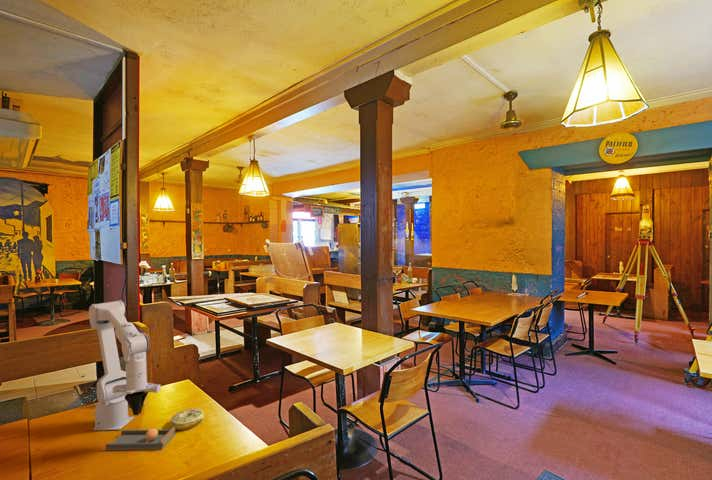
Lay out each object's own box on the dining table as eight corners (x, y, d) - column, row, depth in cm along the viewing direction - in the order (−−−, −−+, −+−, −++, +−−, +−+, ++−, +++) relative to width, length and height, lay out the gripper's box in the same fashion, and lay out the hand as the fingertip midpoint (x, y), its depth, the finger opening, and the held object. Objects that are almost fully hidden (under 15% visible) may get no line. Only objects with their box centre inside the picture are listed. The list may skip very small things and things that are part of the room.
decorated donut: (210, 420, 127) (209, 410, 127) (183, 435, 117) (182, 424, 117) (191, 413, 132) (191, 403, 132) (164, 427, 122) (164, 416, 122)
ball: (151, 429, 112) (155, 440, 112) (158, 424, 116) (162, 435, 115) (141, 433, 112) (145, 444, 112) (148, 429, 116) (152, 439, 115)
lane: (105, 450, 110) (105, 442, 110) (122, 435, 118) (122, 427, 118) (162, 449, 110) (161, 441, 110) (175, 434, 118) (175, 427, 118)
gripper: (105, 378, 109) (106, 420, 109) (151, 377, 109) (152, 420, 109) (120, 369, 116) (121, 409, 117) (163, 368, 116) (164, 408, 116)
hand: (137, 413), depth 113 cm, fingers closed
